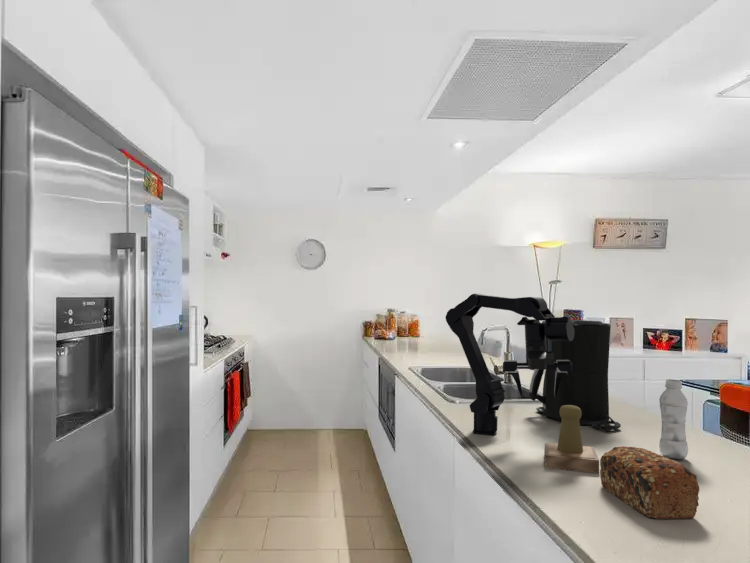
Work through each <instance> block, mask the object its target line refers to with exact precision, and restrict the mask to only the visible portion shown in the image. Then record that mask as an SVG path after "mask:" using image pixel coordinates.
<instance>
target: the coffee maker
mask: <svg viewBox="0 0 750 563" xmlns="http://www.w3.org/2000/svg"><path fill="white" fill-rule="evenodd" d="M571 322H572V324H573V328H574V330H575V334H574V339H573V340H572V341H550V340H549V338H546V346H547V351H553V353H554V362H556V360H570V361H571V362H572V365H573V371H567V372H568V374H567V375H564V376H563V378H562V380H561V382H560V385H559V389H558V393H557V396H556V397H555V394H554V387H555V372H556V371H557V370H556V369H545V370H542V369H534V370H533V372H532V374H531V375H532V376H531V379H530V384H529V389H528V390H529V391H528V397H529V399H530V400H531V401H534V402H536V400H537V401H539V402H541V403H542V406H539V407H535V409H536V411H537V412H539V413H541V414H543V415H545V417H546V418H551V419H555V420H557V421H561V420H562V418H561V416H560V413H559V411H560V408H561V406H563V405H574V406H577V407H579V408H580V409H581V412H582V415H581V418H580V419H579V423H580V426H581V425H582V426H591V427H592V428H593V429H597V430H602V432H606V433H607V432H610V431H614V430H617V429H620V428H621V423H620V422H618V421H615V420H614V419H613V418H612V417H611V416H610V405H609V403H610V402H609V400H610V399H609V365H610V364H609V362H610V361H609V360H610V344H611V342H610V340H611V327H612V326H611V324H610V323H606V322H603V321H601V320H585V319H583V320H582V319H581V320H580V319H571ZM541 323H546V321H545V320H542V322H541ZM543 376H544V377H543ZM542 378H543V385H542V395H539V394H538V392H539V388H540V386H541V381H542Z"/></svg>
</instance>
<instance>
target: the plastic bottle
mask: <svg viewBox="0 0 750 563" xmlns="http://www.w3.org/2000/svg"><path fill="white" fill-rule="evenodd" d="M682 384H683V381H682V380H681V379H679V380H678V379H671V378H670V379H665V384H664V387H665V388H666V389H665V390H664V391H663V392H662V393H661V394H660V395H659V396H660V397H659V398H658V399H659V409H660V414H661V415H660V416H661V430H660V432H661V433H660V438H659V445H658V447H659V452H660V455H662V456H665V457H668V458H669V459H671V460H683V459H686V458H687V457H688V454H689V446H688V441H687V434H686V433H687V432H686V421H687V420H686V419H687V411H688V406H689V405H688V404H689V402H688V399H687V396H685V393H683V391H682V390H681V389H682V388H683V386H682Z"/></svg>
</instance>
